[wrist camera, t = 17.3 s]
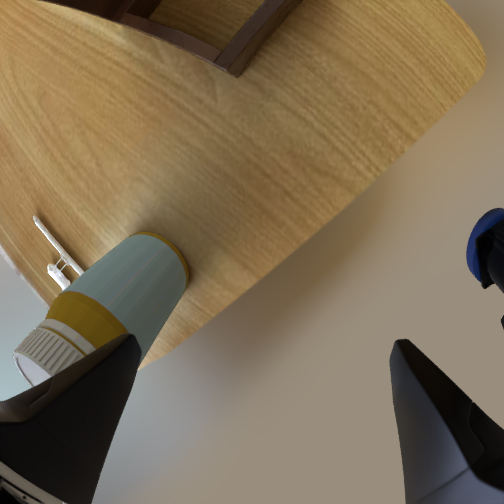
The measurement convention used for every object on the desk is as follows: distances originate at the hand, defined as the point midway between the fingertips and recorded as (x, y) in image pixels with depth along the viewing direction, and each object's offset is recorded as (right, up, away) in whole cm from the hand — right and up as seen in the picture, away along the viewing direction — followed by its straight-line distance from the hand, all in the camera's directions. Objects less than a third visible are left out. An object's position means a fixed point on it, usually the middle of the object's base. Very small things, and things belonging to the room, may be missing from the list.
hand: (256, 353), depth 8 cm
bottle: (-9, +2, +15) cm, 18 cm away
